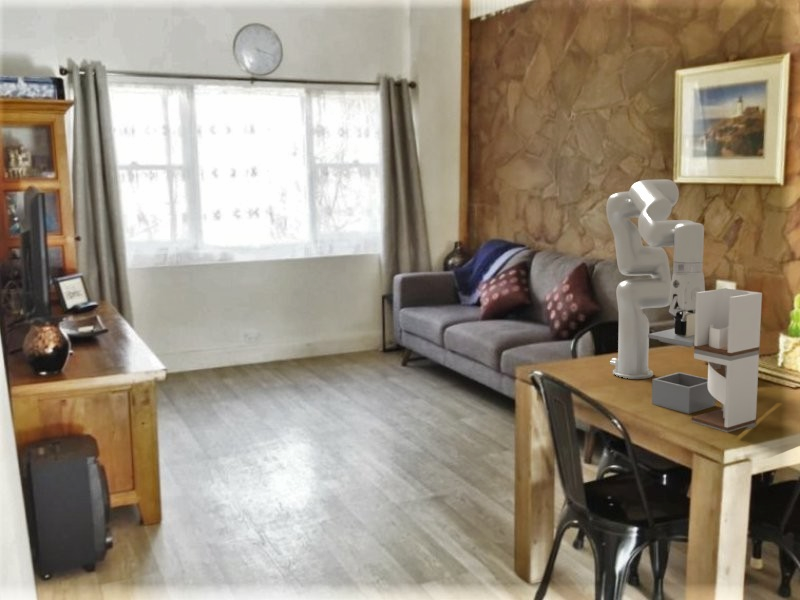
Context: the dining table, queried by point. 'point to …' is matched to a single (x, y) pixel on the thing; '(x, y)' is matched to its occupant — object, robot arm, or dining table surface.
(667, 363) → the dining table surface
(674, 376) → the open box
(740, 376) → the display case
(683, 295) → the robot arm
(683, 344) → the lid
